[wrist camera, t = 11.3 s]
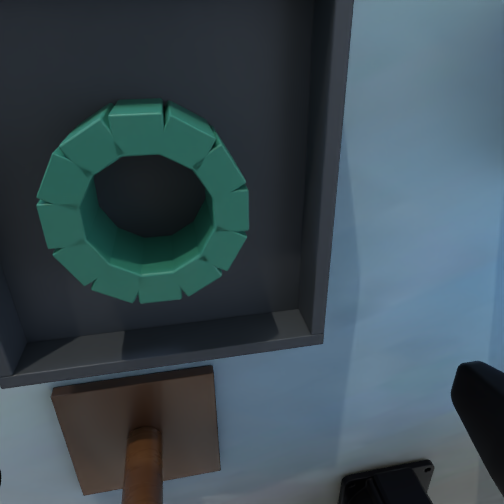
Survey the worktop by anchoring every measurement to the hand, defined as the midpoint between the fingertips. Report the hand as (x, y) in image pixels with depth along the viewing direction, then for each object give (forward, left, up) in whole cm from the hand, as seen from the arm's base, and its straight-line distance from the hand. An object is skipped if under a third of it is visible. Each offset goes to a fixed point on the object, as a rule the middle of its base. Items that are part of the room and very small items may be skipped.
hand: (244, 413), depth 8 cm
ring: (+1, +2, -10) cm, 10 cm away
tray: (+1, +2, -10) cm, 11 cm away
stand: (-12, +4, -10) cm, 16 cm away
